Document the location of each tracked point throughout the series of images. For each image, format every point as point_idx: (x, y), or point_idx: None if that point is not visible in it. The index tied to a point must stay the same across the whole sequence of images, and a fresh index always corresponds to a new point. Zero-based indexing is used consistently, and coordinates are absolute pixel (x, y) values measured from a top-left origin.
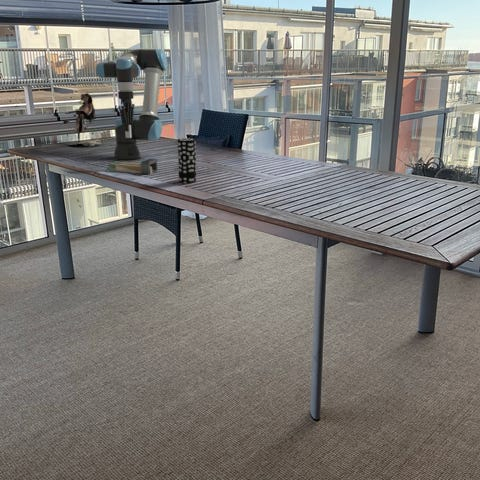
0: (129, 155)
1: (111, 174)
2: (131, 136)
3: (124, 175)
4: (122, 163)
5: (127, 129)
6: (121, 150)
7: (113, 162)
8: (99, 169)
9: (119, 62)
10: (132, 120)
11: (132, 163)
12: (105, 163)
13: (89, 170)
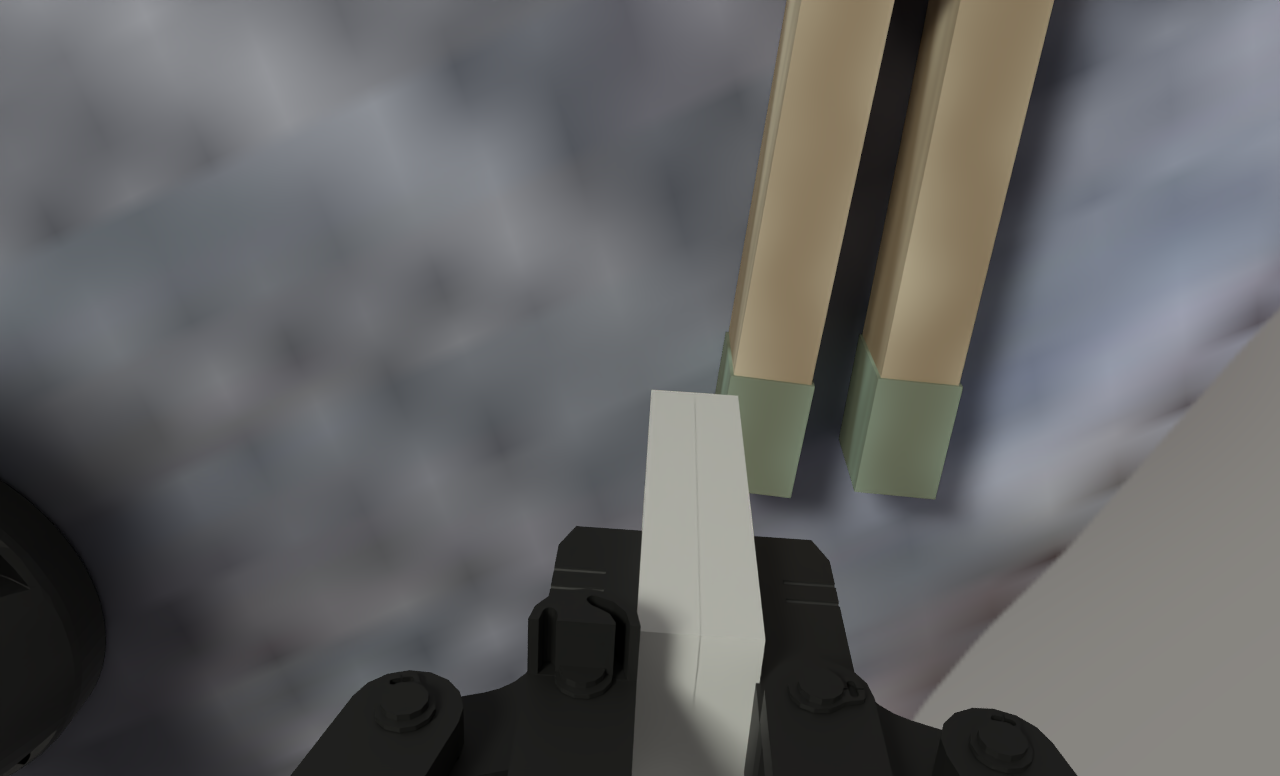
0: (1, 545)
1: (1170, 306)
2: (654, 403)
3: (1241, 73)
4: (823, 322)
5: (833, 585)
6: (1, 702)
7: (792, 482)
8: (838, 598)
9: None
10: (381, 758)
11: (803, 146)
12: None
13: (925, 678)
